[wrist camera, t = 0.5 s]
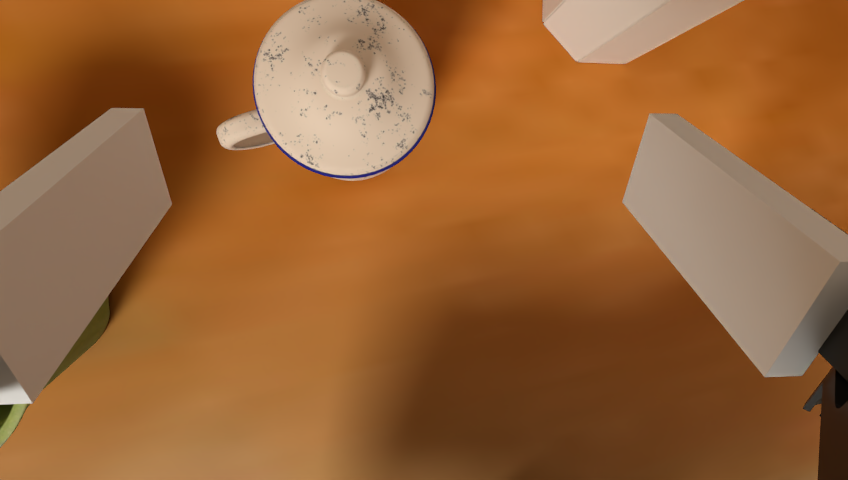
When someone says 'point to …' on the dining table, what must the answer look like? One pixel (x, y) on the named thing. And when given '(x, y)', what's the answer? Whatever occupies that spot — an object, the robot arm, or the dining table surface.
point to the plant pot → (8, 416)
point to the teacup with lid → (338, 89)
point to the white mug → (623, 25)
